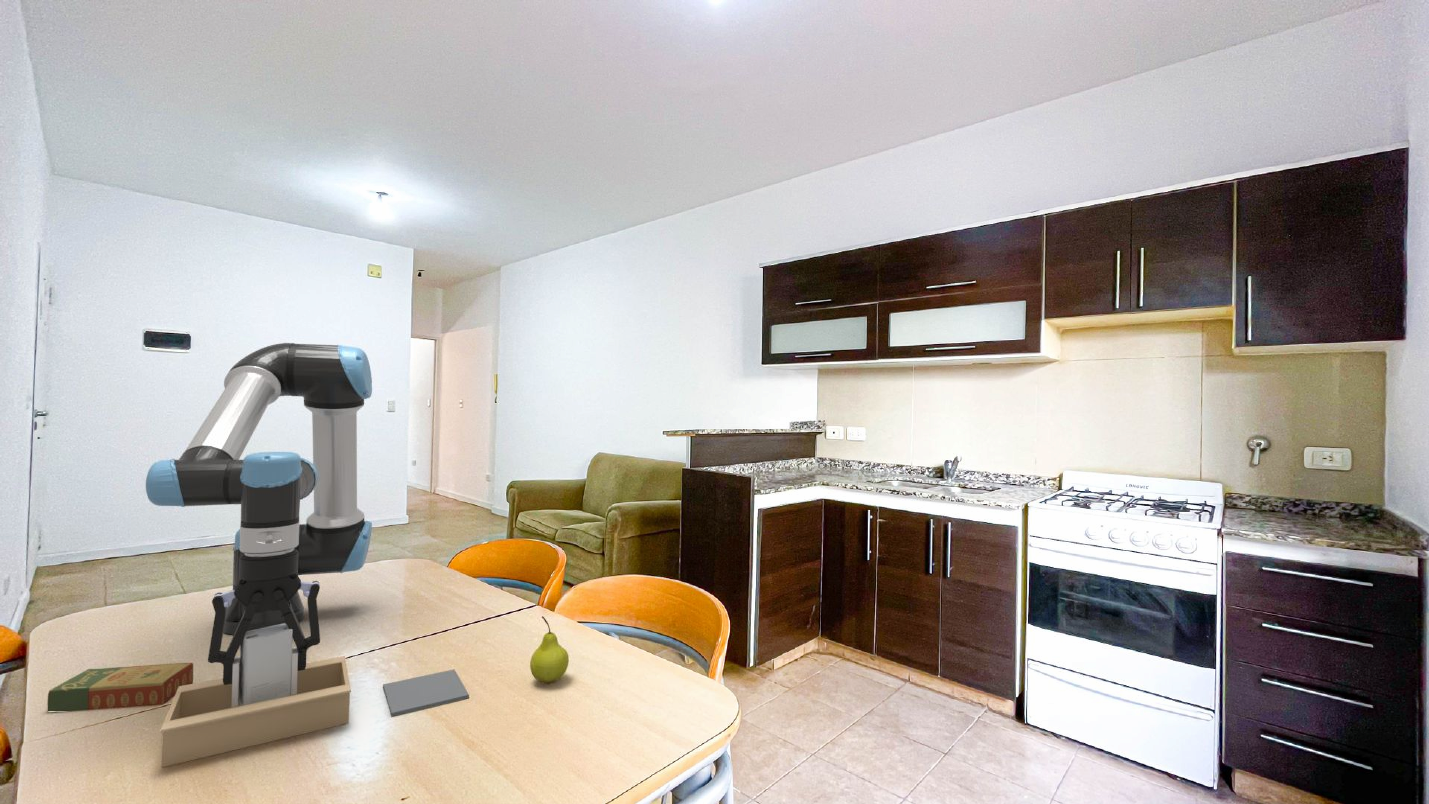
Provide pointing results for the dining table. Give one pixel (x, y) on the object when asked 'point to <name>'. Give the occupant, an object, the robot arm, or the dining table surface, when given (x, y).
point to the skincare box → (265, 664)
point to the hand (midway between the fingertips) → (265, 696)
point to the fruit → (549, 659)
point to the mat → (424, 692)
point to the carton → (120, 687)
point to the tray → (253, 714)
